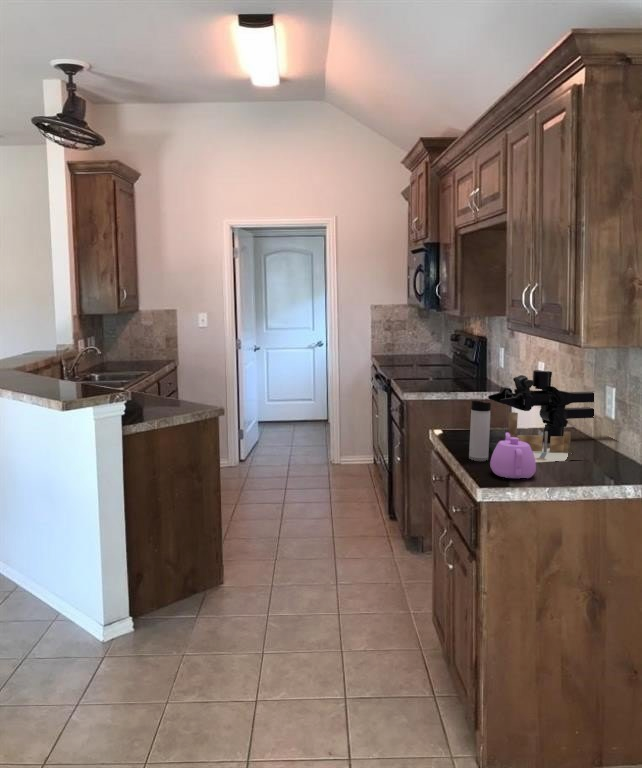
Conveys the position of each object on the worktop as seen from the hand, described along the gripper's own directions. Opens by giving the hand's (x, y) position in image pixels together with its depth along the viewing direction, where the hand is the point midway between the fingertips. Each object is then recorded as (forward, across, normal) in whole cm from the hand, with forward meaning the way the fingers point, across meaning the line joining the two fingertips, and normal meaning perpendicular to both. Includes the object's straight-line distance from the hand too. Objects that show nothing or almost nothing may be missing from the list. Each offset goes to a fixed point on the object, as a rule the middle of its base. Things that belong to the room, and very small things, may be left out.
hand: (494, 399), depth 262 cm
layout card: (-9, +20, +16) cm, 28 cm away
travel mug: (+17, +22, +17) cm, 32 cm away
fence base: (-15, +18, +17) cm, 29 cm away
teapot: (+16, +42, +17) cm, 48 cm away
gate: (-4, +16, +16) cm, 23 cm away
